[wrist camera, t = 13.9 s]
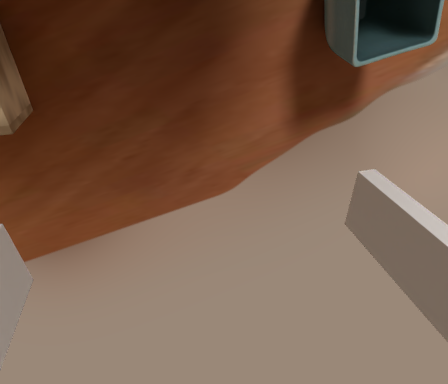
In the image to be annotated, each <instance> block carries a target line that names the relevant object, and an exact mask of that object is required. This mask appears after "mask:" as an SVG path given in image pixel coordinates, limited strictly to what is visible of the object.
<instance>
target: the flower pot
mask: <svg viewBox="0 0 448 384" xmlns="http://www.w3.org/2000/svg"><path fill="white" fill-rule="evenodd" d="M324 3H325V34H326V39H327V43H328V45H329V47H330V48H331V50H332V51H333V52H334V53H336V54H337V55H338V56H340V57H341V58H342V59H344V60H345V61H347V62H348V63H350V64H351V65H353V66H354V67H359V66H363V65H366V64H369V63H372V62H375V61H378V60H381V59H385V58H388V57H391V56H394V55H397V54H400V53H404V52H407V51H411V50H414V49H417V48H421V47H425V46H429V45H431V44H432V43H434V42H435V41H436V39H437V36H438V32H439V26H440V20H441V14H442V9H443V4H444V0H324Z"/></svg>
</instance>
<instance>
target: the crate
mask: <svg viewBox="0 0 448 384" xmlns="http://www.w3.org/2000/svg"><path fill="white" fill-rule="evenodd" d="M32 111H33V109H32V106H31V103H30V101H29V98H28V95H27V93H26V90H25V88H24V85H23V82H22V80H21V77H20V74H19V72H18V69H17V66H16V64H15V61H14V59H13V56H12V53H11V51H10V48H9V45H8V43H7V40H6V38H5V35H4V32H3V30H2V27H1V24H0V135H8V134H13V133H14V132H15V131H16V130H17V129H18V127H19V126H20V125H21V124H22V123H23V122H24V121H25V119H26V118H27V117H28V116H29V115H30V114H31V113H32Z"/></svg>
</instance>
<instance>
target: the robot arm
mask: <svg viewBox="0 0 448 384" xmlns="http://www.w3.org/2000/svg"><path fill="white" fill-rule="evenodd" d="M345 225H346V226H347V227H348V228H349V229H350V231H351V232H352V233H353V234H354V235H355V236H356V237H357V239H358V240H359V241H360V242H361V243H362V244H363V245H364V247H365V248H366V249H367V250H368V251H369V252H370V254H371V255H372V256H373V257H374V258H375V259H376V260H377V262H378V263H379V264H380V265H381V266H382V267H383V268H384V270H385V271H386V272H387V273H388V274H389V275H390V277H391V278H392V279H393V280H394V281H395V282H396V283H397V285H398V286H399V287H400V288H401V289H402V290H403V291H404V293H405V294H406V295H407V296H408V297H409V298H410V300H411V301H412V302H413V303H414V304H415V305H416V306H417V308H419V310H420V311H421V312H422V313H423V314H424V316H425V317H426V318H427V319H428V320H429V321H430V322H431V324H432V325H433V326H434V327H435V328H436V329H437V331H438V332H439V333H440V334H441V335H442V336H443V337H444V339H445V340H446V341H447V342H448V225H447V224H446V223H444V222H443V221H442V220H440V219H439V218H438V217H437V216H435V215H434V214H433V213H431V212H430V211H429V210H427V209H426V208H425V207H423V206H422V205H421V204H420V203H418V202H417V201H416V200H414V199H413V198H412V197H410V196H409V195H408V194H407V193H405V192H404V191H403V190H401V189H400V188H399V187H398V186H396V185H395V184H394V183H392V182H391V181H390V180H388V179H387V178H386V177H384V176H383V175H382V174H381V173H379V172H378V171H377V170H375V169H373V170H366V171H359V172H358V174H357V178H356V182H355V186H354V190H353V194H352V198H351V201H350V205H349V209H348V213H347V217H346V221H345ZM32 282H33V278H32V276H31V274H30V272H29V271H28V269H27V267H26V265H25V263H24V261H23V260H22V258H21V256H20V254H19V252H18V251H17V249H16V247H15V245H14V243H13V242H12V240H11V238H10V236H9V234H8V233H7V231H6V229H5V227H4V225H3V224H0V370H1V367H2V364H3V361H4V358H5V356H6V353H7V350H8V348H9V345H10V342H11V339H12V336H13V334H14V331H15V329H16V326H17V323H18V320H19V317H20V315H21V312H22V309H23V307H24V304H25V301H26V298H27V296H28V293H29V290H30V287H31V285H32Z"/></svg>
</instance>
